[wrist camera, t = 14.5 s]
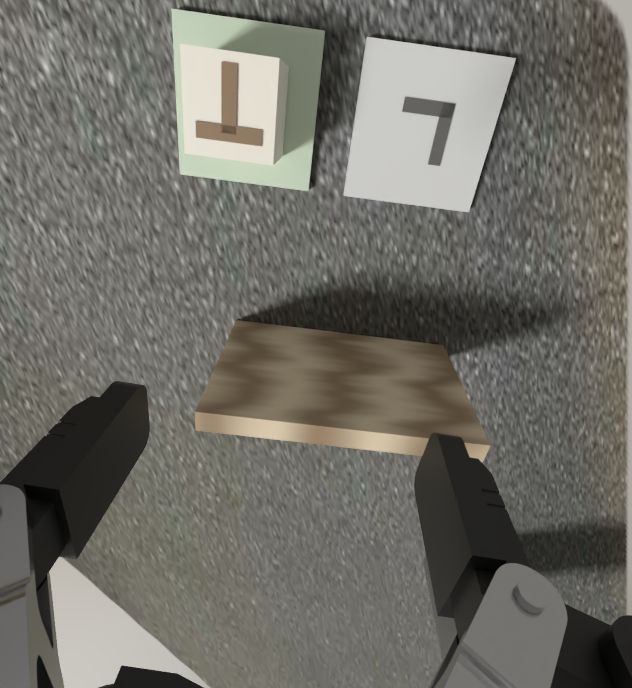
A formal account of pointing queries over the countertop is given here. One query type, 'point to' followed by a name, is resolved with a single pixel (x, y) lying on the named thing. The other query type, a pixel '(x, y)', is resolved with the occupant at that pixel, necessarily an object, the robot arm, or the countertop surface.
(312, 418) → the thin wooden plank
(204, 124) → the cube
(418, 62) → the board
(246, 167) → the board
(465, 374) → the countertop surface
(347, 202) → the countertop surface
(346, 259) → the countertop surface
